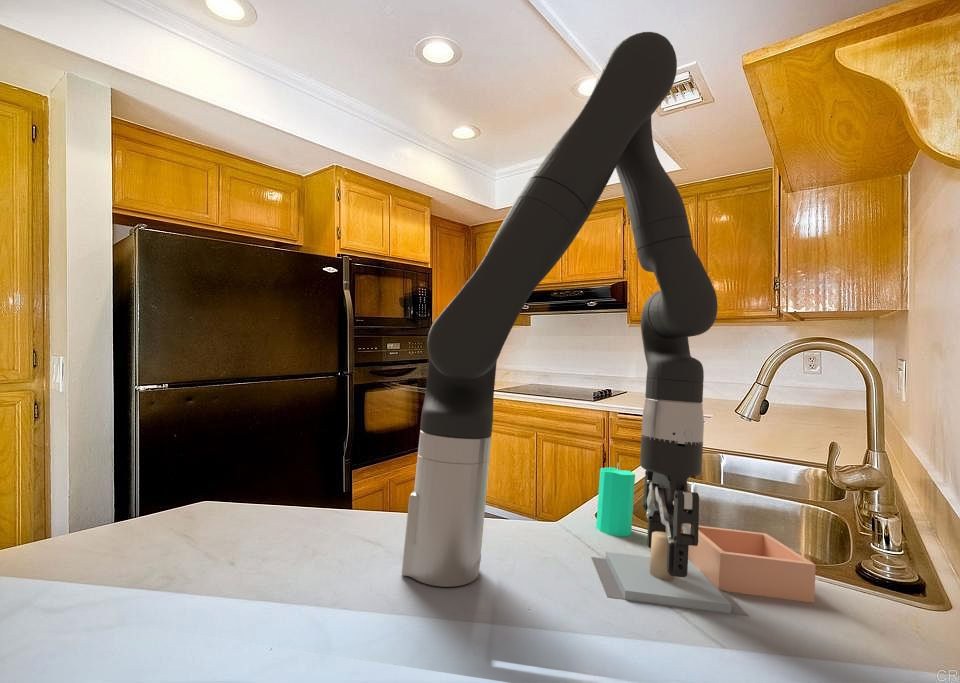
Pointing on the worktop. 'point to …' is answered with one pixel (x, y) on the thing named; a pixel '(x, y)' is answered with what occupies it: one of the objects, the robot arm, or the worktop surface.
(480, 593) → the worktop surface
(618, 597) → the mat
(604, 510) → the candle
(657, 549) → the lid
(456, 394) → the robot arm
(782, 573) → the dish
